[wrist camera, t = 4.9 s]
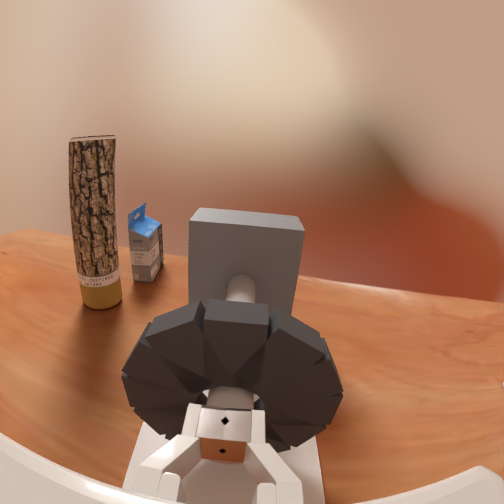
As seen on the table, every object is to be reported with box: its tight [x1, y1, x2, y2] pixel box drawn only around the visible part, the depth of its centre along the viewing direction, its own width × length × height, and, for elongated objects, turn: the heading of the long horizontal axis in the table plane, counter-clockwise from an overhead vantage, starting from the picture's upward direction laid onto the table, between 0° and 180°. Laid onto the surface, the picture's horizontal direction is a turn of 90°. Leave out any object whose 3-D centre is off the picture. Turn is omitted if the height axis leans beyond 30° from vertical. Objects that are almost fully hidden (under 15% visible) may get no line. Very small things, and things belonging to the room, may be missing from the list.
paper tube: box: [69, 135, 122, 309], centre depth 37 cm, size 7×7×25 cm
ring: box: [121, 299, 343, 453], centre depth 17 cm, size 14×2×14 cm, turn 89°
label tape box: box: [128, 203, 164, 282], centre depth 51 cm, size 9×4×12 cm, turn 2°
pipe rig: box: [122, 208, 325, 504], centre depth 25 cm, size 16×28×16 cm, turn 179°
